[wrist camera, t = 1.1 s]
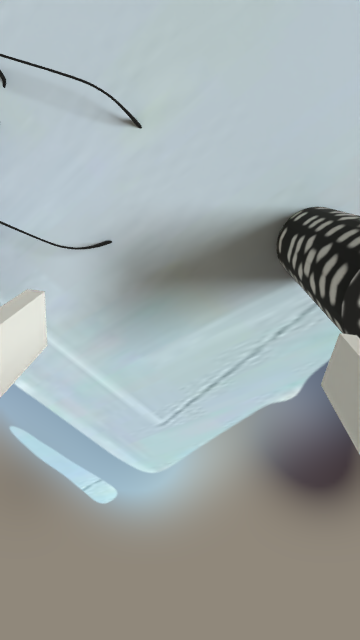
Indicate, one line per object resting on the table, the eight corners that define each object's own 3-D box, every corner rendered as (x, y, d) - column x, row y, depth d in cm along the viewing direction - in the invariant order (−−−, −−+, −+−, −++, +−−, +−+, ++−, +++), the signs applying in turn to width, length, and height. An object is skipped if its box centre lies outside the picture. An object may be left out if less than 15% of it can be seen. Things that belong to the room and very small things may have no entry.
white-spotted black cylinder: (297, 290, 41) (373, 381, 23) (263, 235, 39) (318, 288, 21) (361, 252, 39) (502, 319, 21) (329, 191, 36) (457, 205, 18)
